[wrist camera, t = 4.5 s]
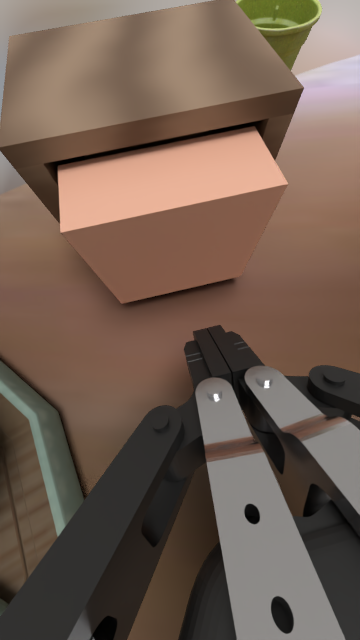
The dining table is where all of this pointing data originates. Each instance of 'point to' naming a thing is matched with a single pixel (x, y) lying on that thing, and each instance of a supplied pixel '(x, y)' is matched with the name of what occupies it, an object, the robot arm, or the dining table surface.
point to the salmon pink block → (170, 211)
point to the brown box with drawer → (139, 88)
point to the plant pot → (283, 23)
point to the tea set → (30, 482)
